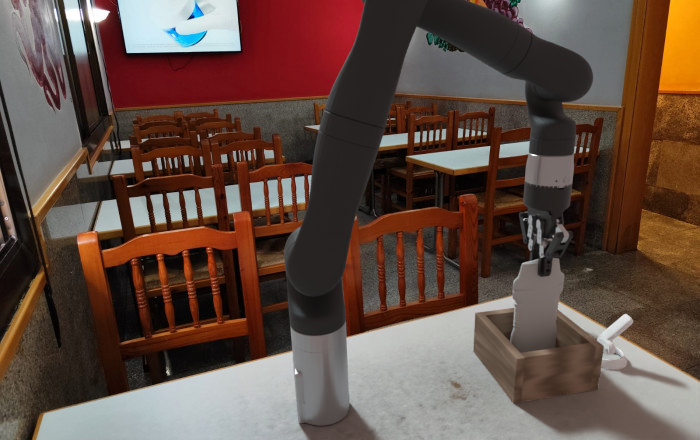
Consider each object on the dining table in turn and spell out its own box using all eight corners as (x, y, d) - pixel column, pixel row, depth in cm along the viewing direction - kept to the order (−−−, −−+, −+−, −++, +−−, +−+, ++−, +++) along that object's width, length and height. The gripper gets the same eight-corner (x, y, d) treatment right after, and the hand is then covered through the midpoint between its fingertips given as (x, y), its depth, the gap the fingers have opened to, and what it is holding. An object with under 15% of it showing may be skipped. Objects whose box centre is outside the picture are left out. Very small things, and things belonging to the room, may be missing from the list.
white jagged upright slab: (548, 353, 95) (558, 251, 89) (561, 365, 92) (574, 258, 85) (500, 362, 93) (508, 258, 86) (512, 375, 89) (521, 266, 82)
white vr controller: (665, 345, 90) (643, 332, 87) (616, 385, 94) (594, 373, 91) (640, 318, 96) (618, 305, 94) (596, 357, 100) (574, 345, 98)
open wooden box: (513, 403, 84) (516, 358, 81) (473, 351, 99) (475, 312, 96) (597, 389, 86) (603, 346, 83) (546, 341, 102) (549, 303, 99)
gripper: (507, 172, 87) (501, 260, 92) (551, 190, 74) (541, 291, 79) (545, 170, 88) (537, 256, 94) (595, 186, 75) (582, 286, 80)
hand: (539, 272), depth 86 cm, fingers closed on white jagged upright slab, 2 cm apart
